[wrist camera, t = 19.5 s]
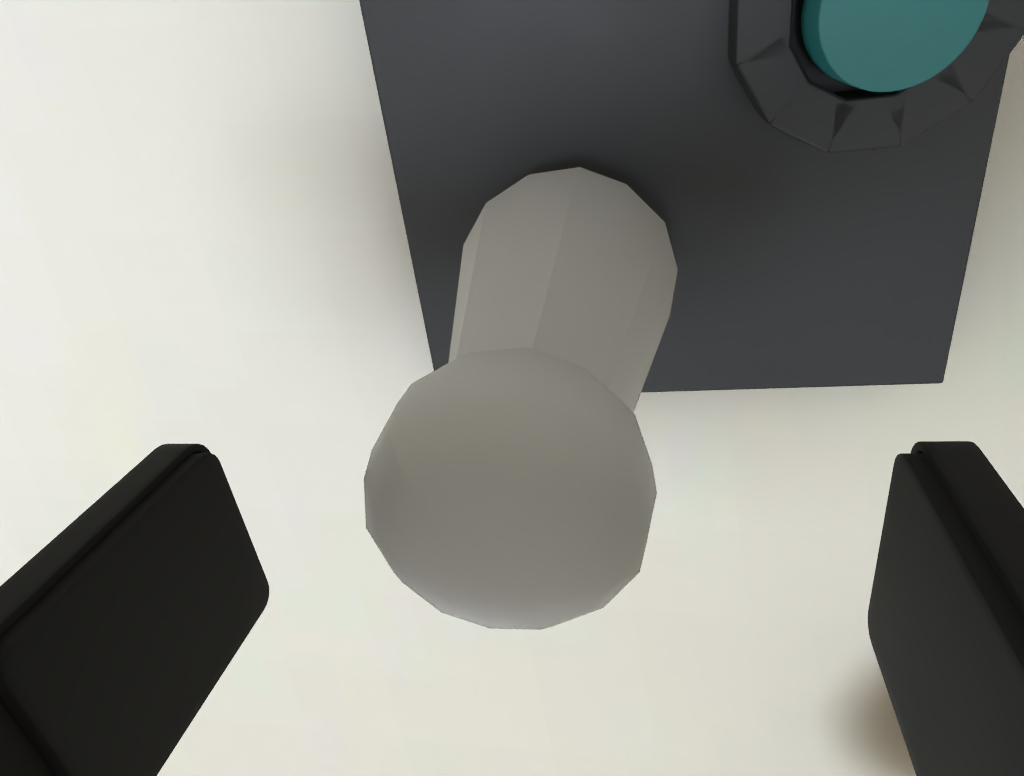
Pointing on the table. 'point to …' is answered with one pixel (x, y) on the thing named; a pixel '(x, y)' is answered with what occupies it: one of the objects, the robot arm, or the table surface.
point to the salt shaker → (532, 412)
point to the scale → (705, 171)
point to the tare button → (887, 38)
